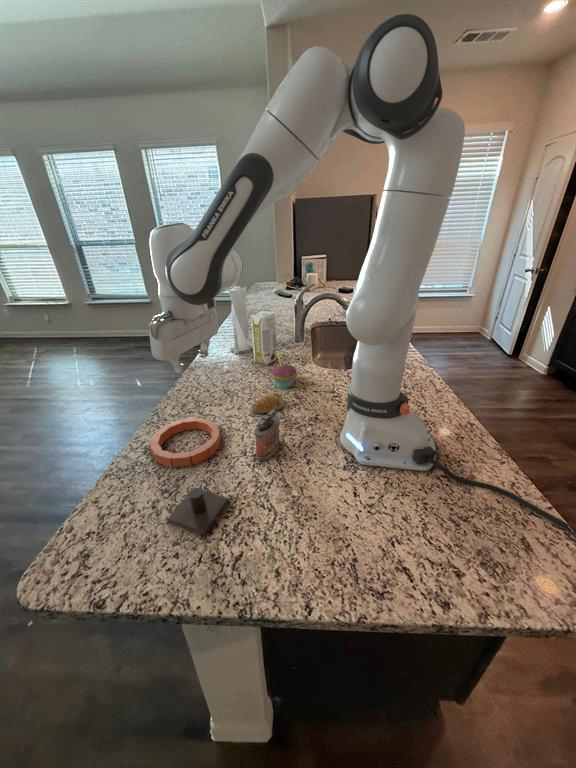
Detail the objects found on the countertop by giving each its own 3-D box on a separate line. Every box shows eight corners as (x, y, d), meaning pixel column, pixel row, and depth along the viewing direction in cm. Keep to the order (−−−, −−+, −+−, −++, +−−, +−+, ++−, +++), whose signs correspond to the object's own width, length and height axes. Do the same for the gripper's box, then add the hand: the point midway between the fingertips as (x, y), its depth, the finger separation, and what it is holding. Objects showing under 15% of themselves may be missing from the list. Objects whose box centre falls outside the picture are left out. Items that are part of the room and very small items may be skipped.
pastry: (260, 418, 88) (259, 407, 86) (247, 409, 92) (246, 397, 91) (286, 407, 93) (285, 396, 91) (272, 398, 98) (272, 387, 96)
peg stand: (228, 501, 62) (225, 483, 59) (205, 535, 55) (201, 516, 53) (194, 491, 64) (191, 472, 62) (168, 522, 58) (163, 503, 55)
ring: (232, 432, 82) (231, 424, 81) (194, 474, 69) (192, 465, 68) (182, 420, 87) (180, 413, 86) (138, 456, 74) (135, 448, 73)
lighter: (264, 462, 72) (262, 426, 67) (252, 457, 73) (249, 422, 69) (283, 443, 78) (282, 409, 73) (272, 439, 79) (270, 405, 75)
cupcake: (267, 388, 103) (265, 354, 98) (278, 377, 110) (276, 345, 105) (291, 392, 101) (291, 358, 95) (300, 381, 108) (300, 349, 102)
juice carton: (279, 358, 126) (277, 312, 117) (266, 366, 119) (264, 317, 111) (264, 355, 129) (261, 309, 121) (251, 362, 123) (247, 314, 114)
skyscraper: (230, 347, 138) (223, 282, 125) (247, 344, 141) (242, 280, 128) (235, 354, 131) (228, 285, 118) (253, 351, 134) (249, 283, 121)
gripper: (161, 320, 59) (174, 384, 65) (219, 297, 76) (226, 350, 82) (135, 317, 61) (151, 380, 67) (198, 296, 78) (205, 348, 84)
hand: (192, 363), depth 75 cm, fingers open, 8 cm apart
